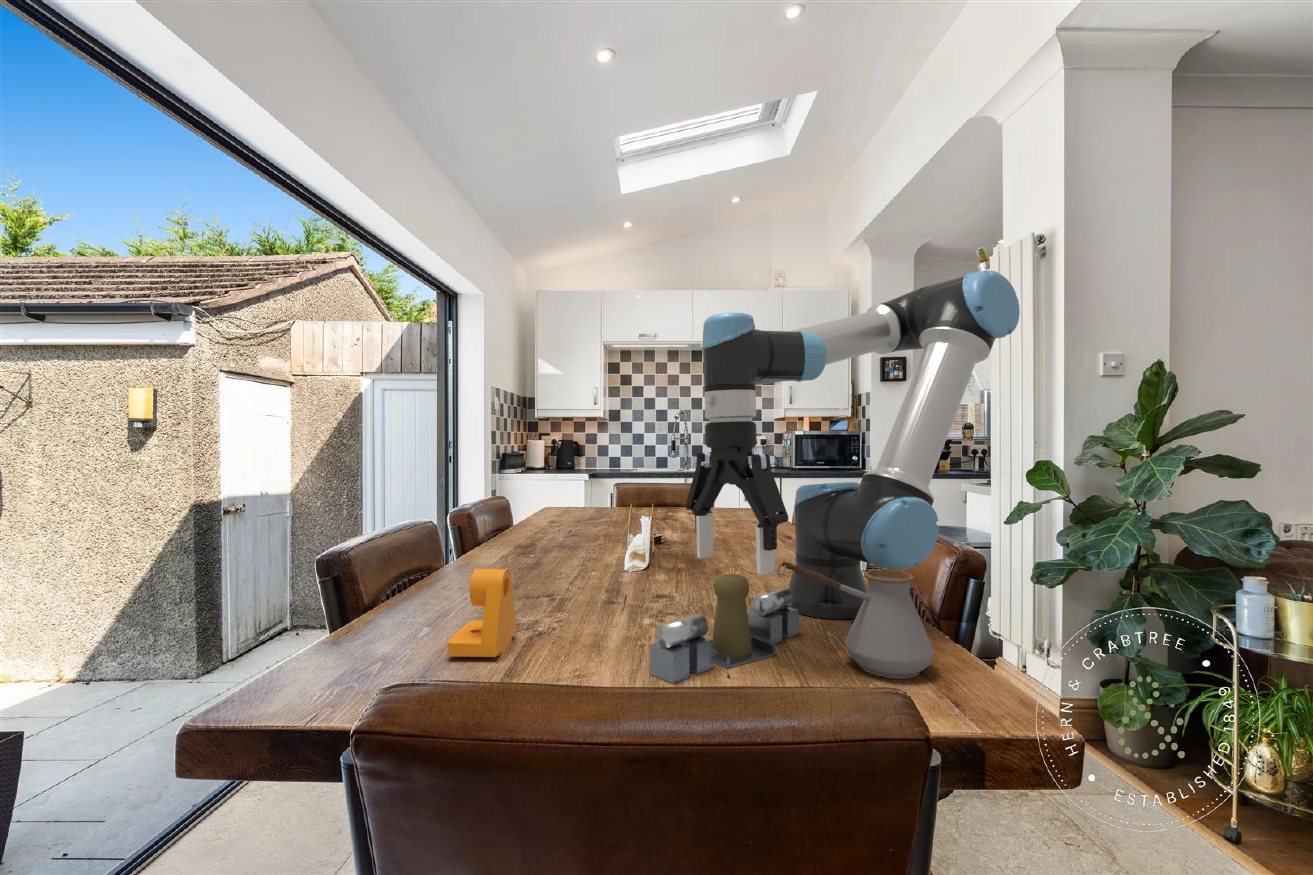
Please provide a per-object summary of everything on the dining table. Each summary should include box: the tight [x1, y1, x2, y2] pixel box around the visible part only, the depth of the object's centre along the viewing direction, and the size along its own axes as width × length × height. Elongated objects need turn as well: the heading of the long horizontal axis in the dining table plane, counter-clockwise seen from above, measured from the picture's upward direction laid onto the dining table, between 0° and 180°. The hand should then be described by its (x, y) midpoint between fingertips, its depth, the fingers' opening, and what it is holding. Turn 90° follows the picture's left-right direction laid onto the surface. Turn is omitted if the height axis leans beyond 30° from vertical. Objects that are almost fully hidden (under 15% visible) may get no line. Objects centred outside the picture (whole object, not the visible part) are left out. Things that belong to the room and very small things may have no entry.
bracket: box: [447, 568, 517, 658], centre depth 92 cm, size 11×7×12 cm, turn 178°
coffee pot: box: [777, 561, 936, 680], centre depth 83 cm, size 21×12×15 cm, turn 97°
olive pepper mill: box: [711, 573, 752, 657], centre depth 90 cm, size 6×6×11 cm
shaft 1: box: [649, 613, 713, 684], centre depth 82 cm, size 8×4×7 cm, turn 133°
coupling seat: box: [712, 634, 777, 670], centre depth 90 cm, size 9×9×2 cm
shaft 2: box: [747, 588, 800, 644], centre depth 97 cm, size 8×4×7 cm, turn 133°
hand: (733, 564), depth 90 cm, fingers open, 13 cm apart
